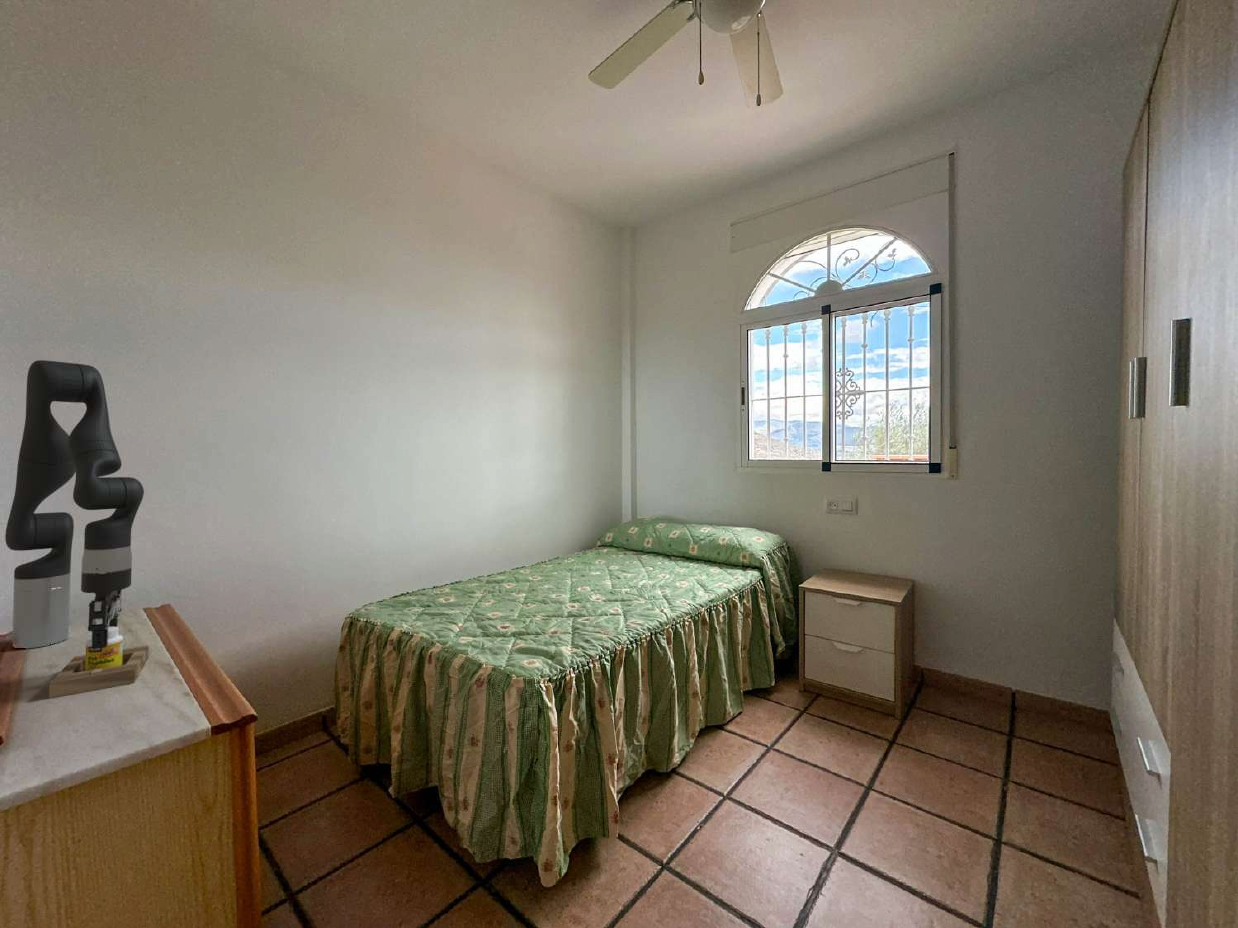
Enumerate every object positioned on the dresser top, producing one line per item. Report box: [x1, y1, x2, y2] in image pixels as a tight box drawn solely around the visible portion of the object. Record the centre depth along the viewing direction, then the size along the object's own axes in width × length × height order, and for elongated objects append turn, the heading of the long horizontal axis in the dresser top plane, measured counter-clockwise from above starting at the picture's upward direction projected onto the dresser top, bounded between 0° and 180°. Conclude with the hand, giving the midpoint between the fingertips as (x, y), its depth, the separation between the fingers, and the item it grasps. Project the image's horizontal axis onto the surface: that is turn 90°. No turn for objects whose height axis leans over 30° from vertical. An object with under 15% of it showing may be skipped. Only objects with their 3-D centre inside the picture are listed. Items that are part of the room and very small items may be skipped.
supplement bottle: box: [85, 626, 124, 671], centre depth 104 cm, size 6×6×10 cm
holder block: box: [48, 644, 150, 699], centre depth 104 cm, size 16×12×3 cm
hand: (104, 641), depth 104 cm, fingers open, 8 cm apart
